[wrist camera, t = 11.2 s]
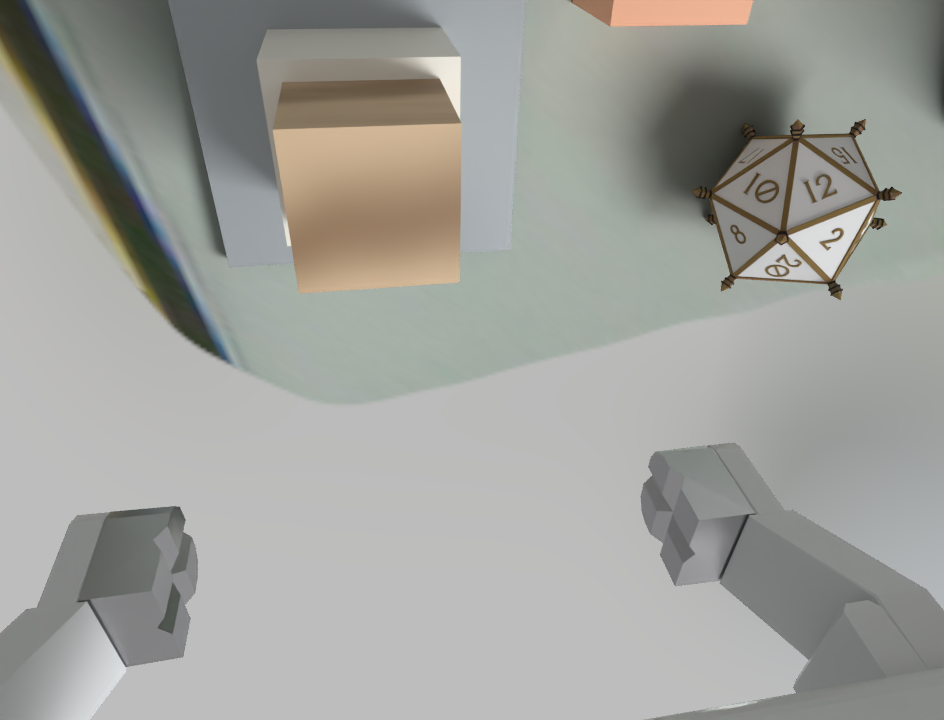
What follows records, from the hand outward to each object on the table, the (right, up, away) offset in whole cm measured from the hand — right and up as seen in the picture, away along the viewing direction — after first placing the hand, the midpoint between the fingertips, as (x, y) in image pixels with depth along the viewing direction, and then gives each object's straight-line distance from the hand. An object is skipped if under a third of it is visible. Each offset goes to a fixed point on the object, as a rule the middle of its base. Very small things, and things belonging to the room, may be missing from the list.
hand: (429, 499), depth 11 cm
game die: (+15, +12, +23) cm, 31 cm away
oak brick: (-3, +10, +13) cm, 17 cm away
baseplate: (-4, +14, +18) cm, 23 cm away
